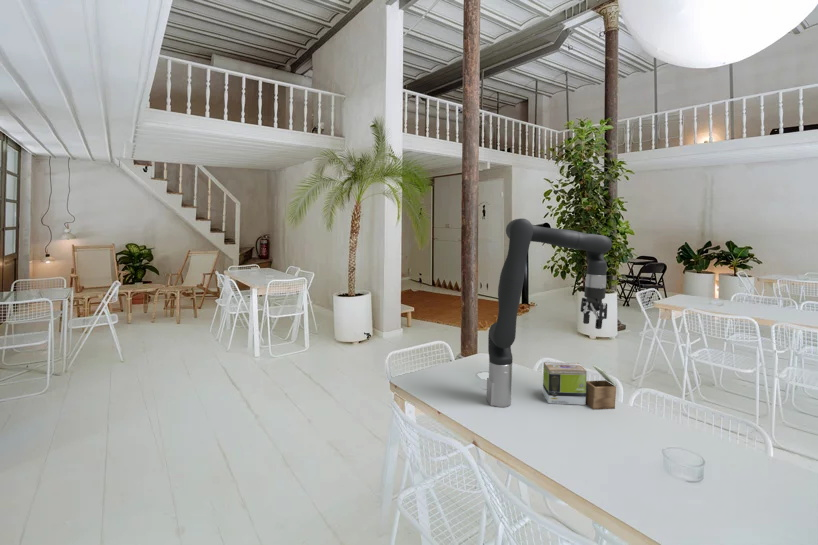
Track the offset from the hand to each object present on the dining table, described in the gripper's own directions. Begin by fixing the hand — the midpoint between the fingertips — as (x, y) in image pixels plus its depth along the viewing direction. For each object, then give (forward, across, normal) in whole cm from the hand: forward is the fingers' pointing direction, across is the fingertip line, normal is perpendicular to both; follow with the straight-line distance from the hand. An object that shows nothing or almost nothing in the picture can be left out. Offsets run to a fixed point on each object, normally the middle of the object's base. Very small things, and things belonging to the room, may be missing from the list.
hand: (592, 326), depth 162 cm
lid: (+20, +1, +6) cm, 21 cm away
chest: (+32, +1, +5) cm, 33 cm away
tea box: (+33, -6, -7) cm, 34 cm away
